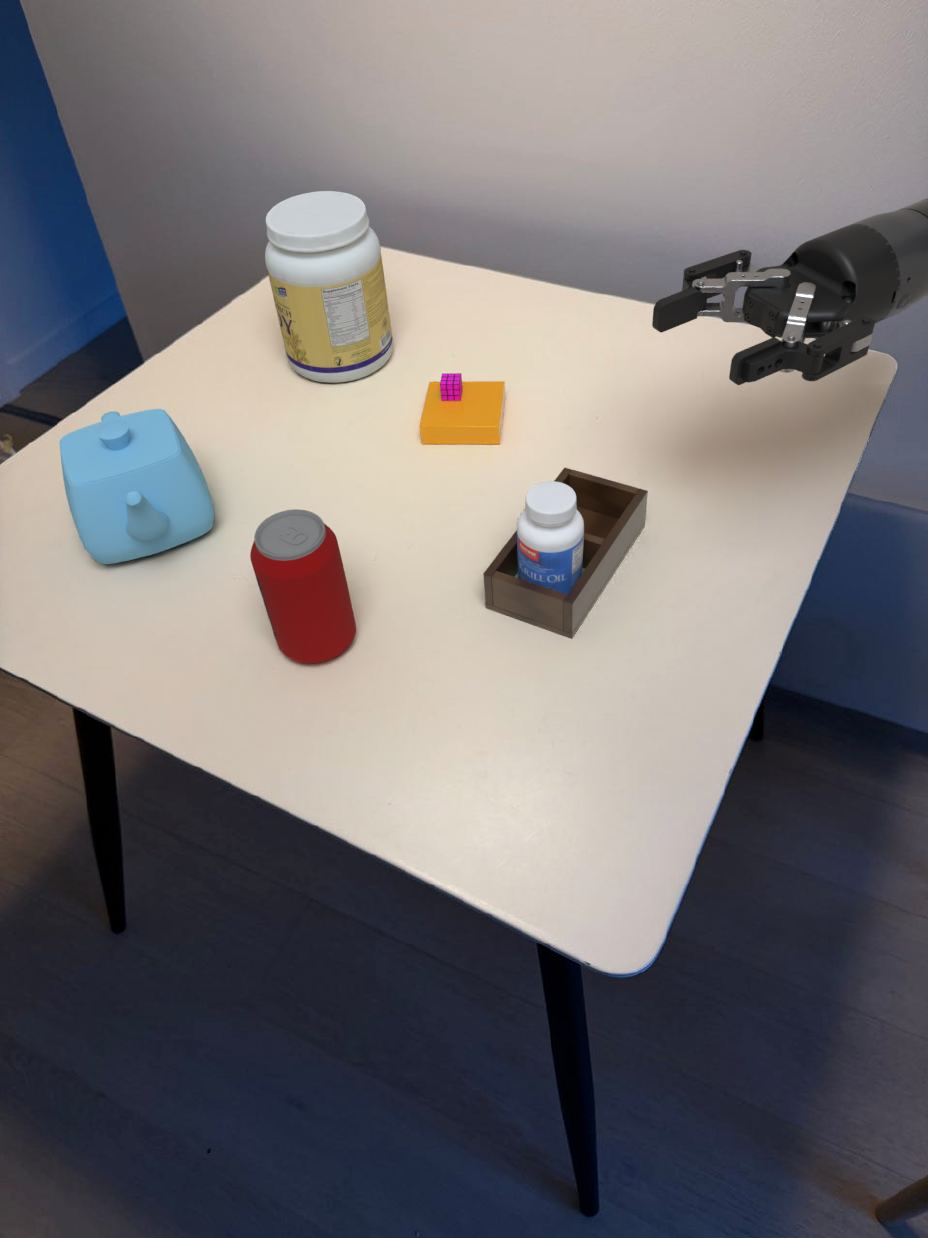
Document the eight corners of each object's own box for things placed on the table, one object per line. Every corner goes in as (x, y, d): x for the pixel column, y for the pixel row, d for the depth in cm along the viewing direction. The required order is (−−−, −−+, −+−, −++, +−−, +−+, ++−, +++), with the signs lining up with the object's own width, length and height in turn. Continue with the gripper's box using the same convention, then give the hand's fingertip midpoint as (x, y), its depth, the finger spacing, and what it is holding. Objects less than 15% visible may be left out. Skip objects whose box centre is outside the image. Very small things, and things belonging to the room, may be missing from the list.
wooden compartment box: (645, 525, 90) (647, 490, 87) (572, 639, 81) (572, 604, 78) (564, 501, 93) (564, 466, 90) (485, 608, 84) (482, 573, 81)
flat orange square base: (505, 398, 105) (503, 363, 102) (500, 444, 100) (498, 409, 97) (431, 399, 106) (427, 364, 103) (421, 444, 101) (417, 409, 98)
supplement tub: (275, 347, 115) (241, 204, 103) (372, 318, 118) (350, 176, 106) (308, 400, 108) (276, 252, 95) (411, 367, 111) (392, 219, 98)
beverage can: (314, 599, 86) (287, 492, 78) (374, 629, 83) (352, 522, 75) (261, 648, 83) (226, 542, 74) (321, 682, 80) (292, 575, 71)
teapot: (103, 618, 86) (55, 519, 78) (75, 501, 98) (31, 403, 90) (240, 573, 89) (207, 472, 81) (197, 464, 101) (165, 366, 93)
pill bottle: (509, 599, 83) (504, 511, 76) (530, 557, 87) (527, 469, 80) (571, 613, 82) (572, 525, 75) (590, 570, 85) (593, 481, 78)
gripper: (804, 192, 76) (634, 255, 71) (953, 262, 68) (771, 340, 63) (787, 283, 82) (629, 347, 77) (924, 359, 73) (754, 436, 68)
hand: (693, 344), depth 70 cm, fingers open, 8 cm apart
